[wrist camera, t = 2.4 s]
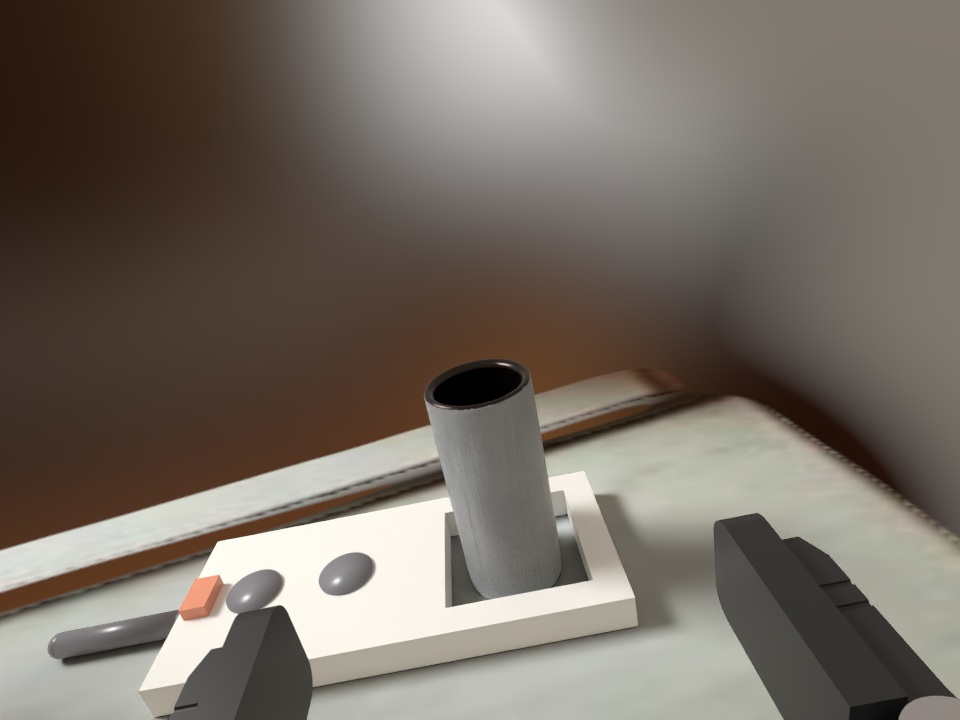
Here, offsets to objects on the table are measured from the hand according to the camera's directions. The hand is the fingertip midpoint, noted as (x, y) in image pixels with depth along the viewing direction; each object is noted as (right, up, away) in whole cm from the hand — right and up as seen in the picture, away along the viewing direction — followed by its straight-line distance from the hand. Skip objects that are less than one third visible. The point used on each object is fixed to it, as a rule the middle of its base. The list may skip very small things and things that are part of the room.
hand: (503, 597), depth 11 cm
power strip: (-8, -8, +17) cm, 21 cm away
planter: (+1, -6, +17) cm, 18 cm away
